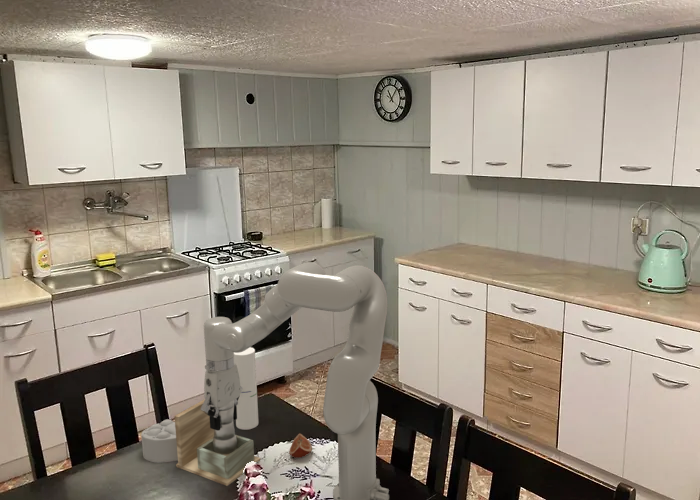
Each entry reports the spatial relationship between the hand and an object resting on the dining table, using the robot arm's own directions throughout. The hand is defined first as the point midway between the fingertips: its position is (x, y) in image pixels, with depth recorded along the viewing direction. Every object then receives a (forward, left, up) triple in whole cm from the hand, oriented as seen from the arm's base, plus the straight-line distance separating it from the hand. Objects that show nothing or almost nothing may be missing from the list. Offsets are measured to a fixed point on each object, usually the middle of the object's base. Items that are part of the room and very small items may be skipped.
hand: (223, 423), depth 159 cm
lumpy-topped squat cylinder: (+21, +3, -14) cm, 25 cm away
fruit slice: (-15, -15, -13) cm, 25 cm away
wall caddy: (+3, 0, -13) cm, 14 cm away
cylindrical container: (+11, -22, -13) cm, 28 cm away
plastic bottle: (0, 0, -9) cm, 9 cm away
